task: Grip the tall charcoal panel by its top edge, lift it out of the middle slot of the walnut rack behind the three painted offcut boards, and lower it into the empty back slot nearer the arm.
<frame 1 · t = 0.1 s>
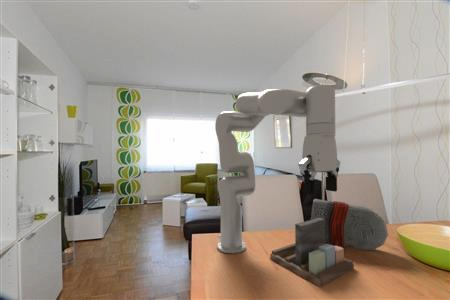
hand: (321, 192, 63), 31 cm above the table, tool pointing down, fingers open, 9 cm apart
decorative stone tablet: (346, 246, 102), on the table
sage offcut board: (317, 276, 77), resting in walnut rack
charcoal panel: (310, 263, 86), resting in walnut rack
terracotta offcut board: (336, 267, 83), resting in walnut rack
slate offcut board: (327, 271, 80), resting in walnut rack
walnut rack: (310, 263, 86), on the table
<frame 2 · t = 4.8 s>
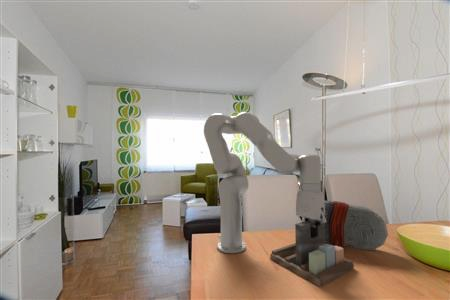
hand: (310, 235, 86), 11 cm above the table, tool pointing down, fingers closed on charcoal panel, 2 cm apart
charcoal panel: (310, 263, 86), resting in walnut rack, touching gripper
everything else where it was.
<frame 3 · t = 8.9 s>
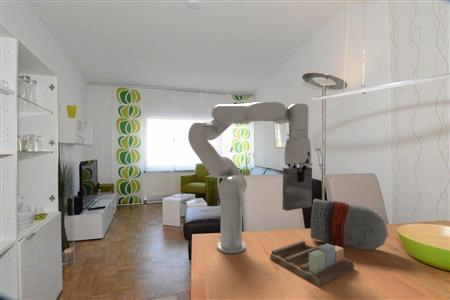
hand: (297, 180, 91), 31 cm above the table, tool pointing down, fingers closed on charcoal panel, 2 cm apart
charcoal panel: (297, 207, 91), point 20 cm above the table, touching gripper
everything else where it was.
when the fingers open (12 cm above the table, at t = 13.4 s): charcoal panel drops 1 cm, resting in walnut rack.
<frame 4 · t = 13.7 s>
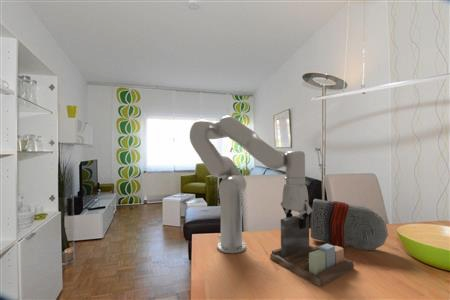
hand: (295, 225, 92), 13 cm above the table, tool pointing down, fingers open, 6 cm apart
charcoal panel: (295, 256, 92), resting in walnut rack
everything else where it was.
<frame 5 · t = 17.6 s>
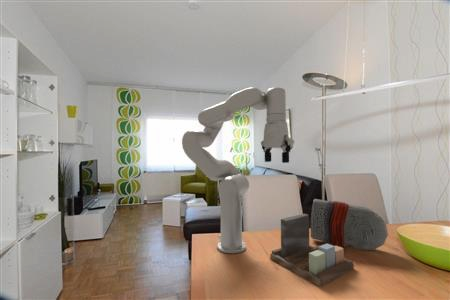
hand: (276, 162, 91), 38 cm above the table, tool pointing down, fingers open, 9 cm apart
nothing on the table moved.
at the end: charcoal panel inside the target area (0.1 cm from its centre), resting in walnut rack; charcoal panel tilted 0°; the gripper is holding nothing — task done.
